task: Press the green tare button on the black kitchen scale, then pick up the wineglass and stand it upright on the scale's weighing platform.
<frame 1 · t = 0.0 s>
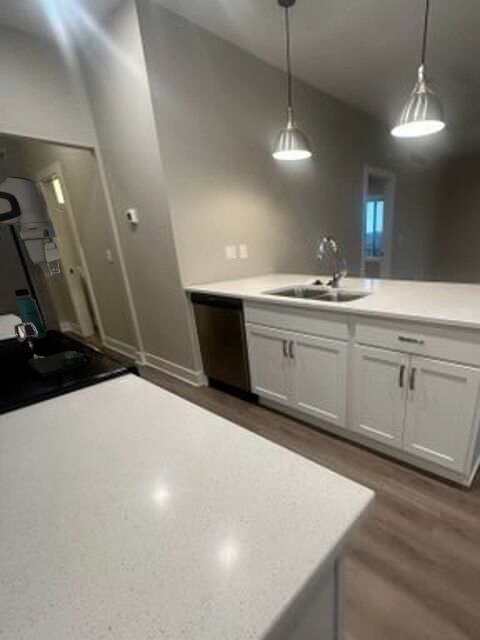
hand: (53, 275, 118), 25 cm above the counter, tool pointing down, fingers open, 8 cm apart
beverage bottle: (39, 341, 134), on the counter
tare button: (71, 355, 106), point 3 cm above the counter, slide at 0.1 cm
scale: (58, 365, 108), on the counter
wineglass: (36, 359, 115), on the counter
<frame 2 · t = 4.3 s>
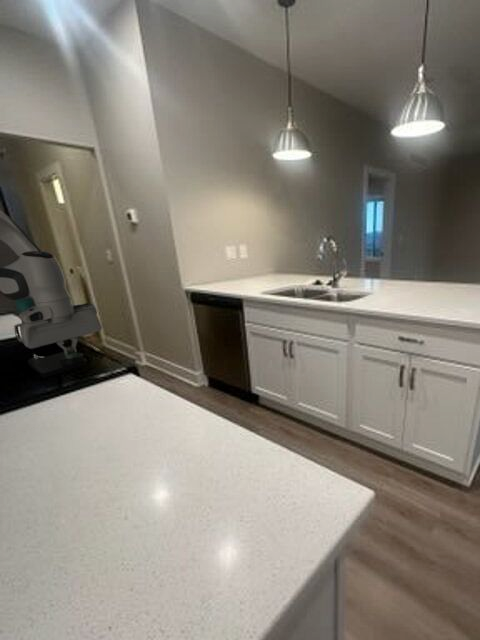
hand: (70, 352, 106), 4 cm above the counter, tool pointing down, fingers closed, pressing on tare button
tare button: (71, 355, 106), point 3 cm above the counter, slide at 0.0 cm, touching gripper
everything else where it was.
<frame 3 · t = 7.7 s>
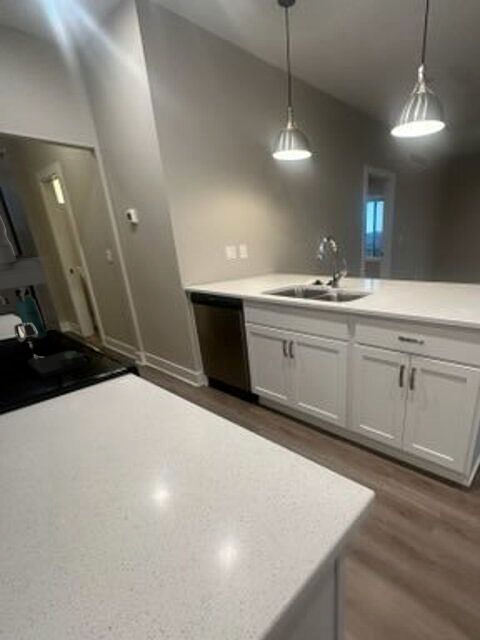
hand: (14, 303, 107), 19 cm above the counter, tool pointing down, fingers open, 3 cm apart
tare button: (71, 355, 106), point 3 cm above the counter, slide at 0.1 cm
everything else where it was.
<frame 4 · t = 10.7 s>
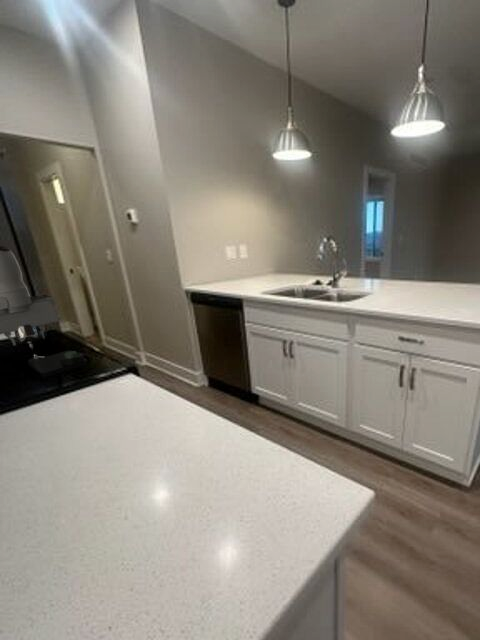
hand: (29, 341, 112), 6 cm above the counter, tool pointing down, fingers closed on wineglass, 5 cm apart
wineglass: (36, 359, 115), on the counter, touching gripper
everything else where it was.
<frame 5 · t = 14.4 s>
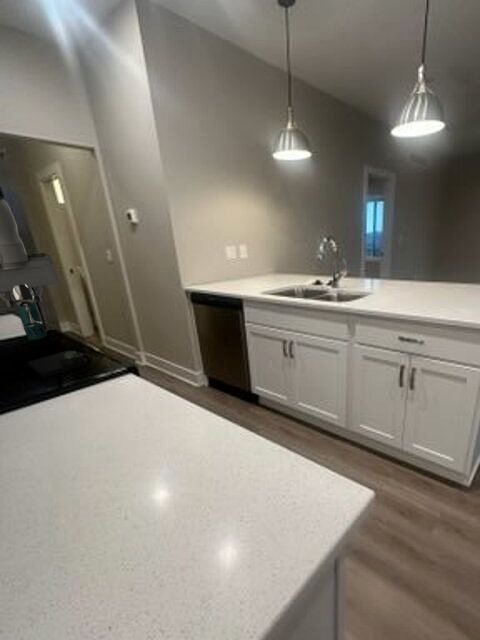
hand: (25, 304, 102), 19 cm above the counter, tool pointing down, fingers closed on wineglass, 5 cm apart
wineglass: (33, 324, 104), point 13 cm above the counter, touching gripper
everything else where it was.
when the fingers open (7 cm above the counter, at t = 18.1 s): wineglass stays where it is, resting on scale.
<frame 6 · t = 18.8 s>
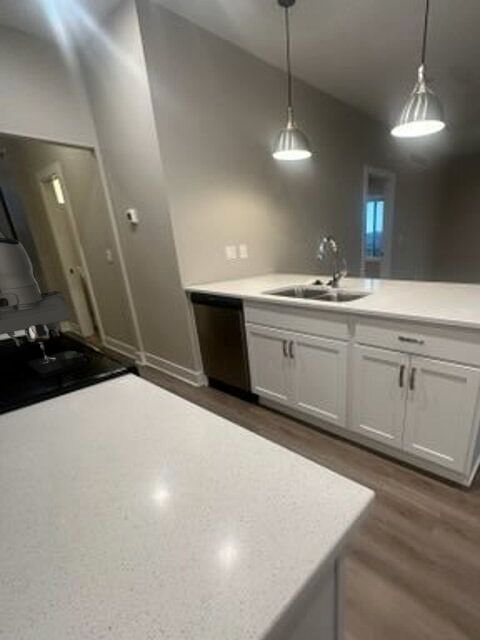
hand: (39, 340, 106), 8 cm above the counter, tool pointing down, fingers open, 8 cm apart
wineglass: (47, 361, 109), point 1 cm above the counter, touching scale
everything else where it was.
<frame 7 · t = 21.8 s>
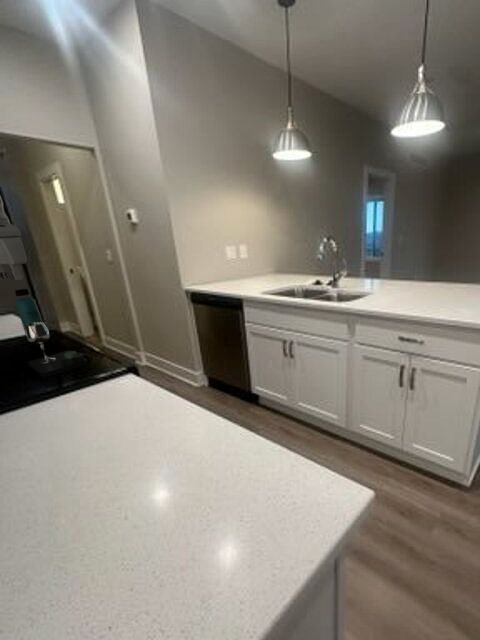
hand: (11, 279, 105), 26 cm above the counter, tool pointing down, fingers open, 8 cm apart
nothing on the counter moved.
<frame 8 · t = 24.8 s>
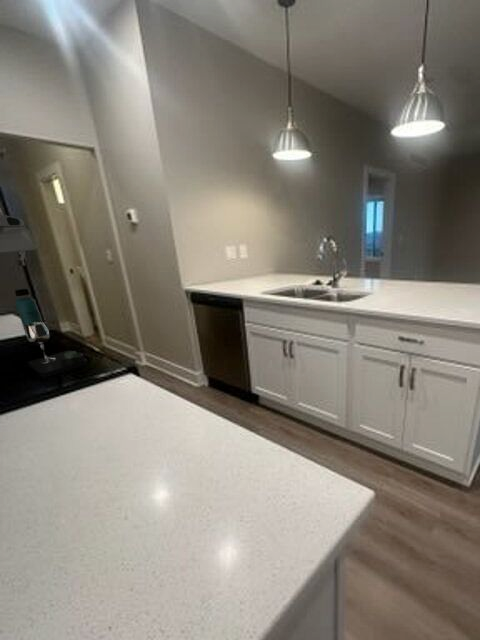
hand: (4, 267, 109), 29 cm above the counter, tool pointing down, fingers open, 8 cm apart
nothing on the counter moved.
at the end: tare button pushed in 0.9 cm at the most during the clip, back to where it started at the end; wineglass inside the target area on the scale (3.7 cm from its centre), point 1.2 cm above the scale's base; wineglass touching scale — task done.
